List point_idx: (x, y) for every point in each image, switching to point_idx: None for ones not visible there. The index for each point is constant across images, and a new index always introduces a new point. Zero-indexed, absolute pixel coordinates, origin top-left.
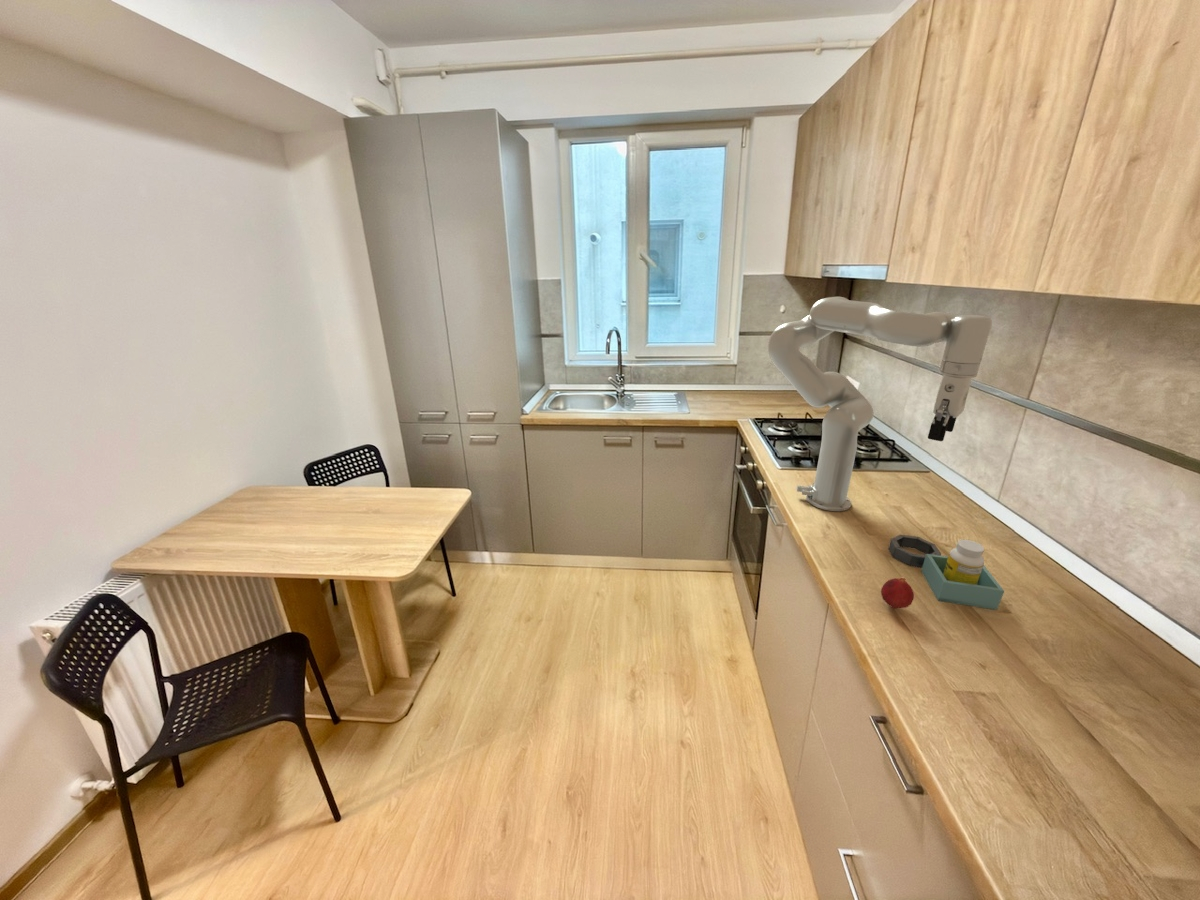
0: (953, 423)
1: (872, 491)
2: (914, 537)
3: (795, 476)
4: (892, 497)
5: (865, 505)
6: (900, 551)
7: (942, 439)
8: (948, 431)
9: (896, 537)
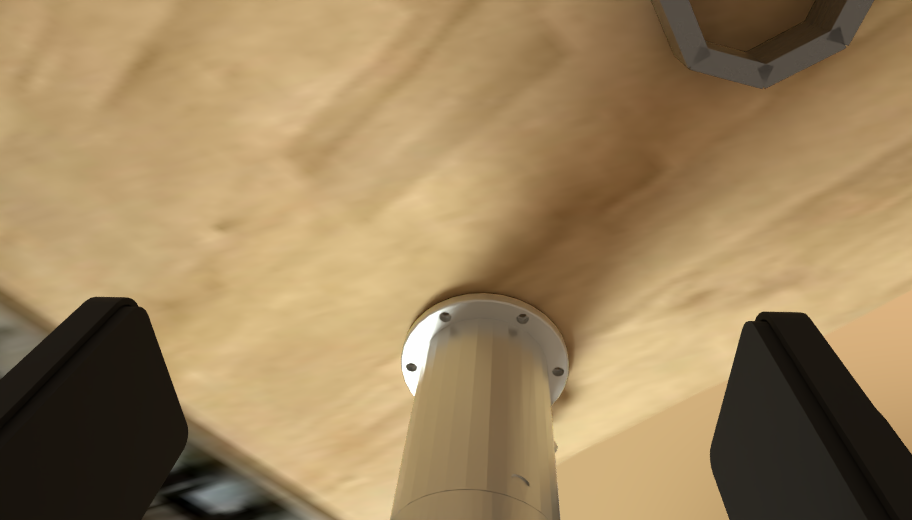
0: (40, 408)
1: (244, 274)
2: (679, 6)
3: (364, 486)
4: (227, 201)
5: (399, 257)
6: (860, 17)
7: (810, 334)
8: (144, 327)
9: (733, 73)
